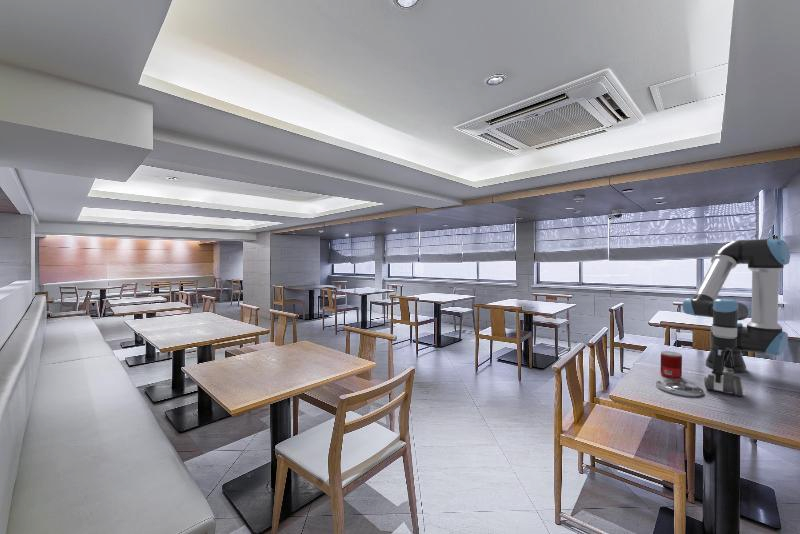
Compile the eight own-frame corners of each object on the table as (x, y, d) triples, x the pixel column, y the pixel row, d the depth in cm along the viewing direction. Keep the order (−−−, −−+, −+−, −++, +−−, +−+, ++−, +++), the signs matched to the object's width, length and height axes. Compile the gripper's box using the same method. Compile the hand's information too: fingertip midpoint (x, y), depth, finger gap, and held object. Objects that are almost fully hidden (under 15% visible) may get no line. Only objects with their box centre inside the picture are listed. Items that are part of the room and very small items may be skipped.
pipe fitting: (744, 392, 146) (741, 368, 146) (744, 399, 140) (741, 374, 140) (706, 388, 154) (703, 365, 154) (705, 394, 148) (701, 371, 148)
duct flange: (663, 380, 162) (663, 376, 162) (708, 390, 149) (708, 387, 149) (649, 388, 152) (649, 384, 152) (696, 400, 139) (696, 396, 139)
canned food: (685, 379, 162) (685, 356, 162) (665, 378, 164) (666, 355, 164) (675, 373, 170) (676, 351, 169) (657, 372, 171) (657, 350, 171)
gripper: (721, 331, 157) (719, 377, 157) (703, 338, 142) (702, 390, 143) (744, 334, 150) (742, 382, 151) (728, 342, 136) (726, 396, 137)
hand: (723, 386), depth 147 cm, fingers open, 13 cm apart
